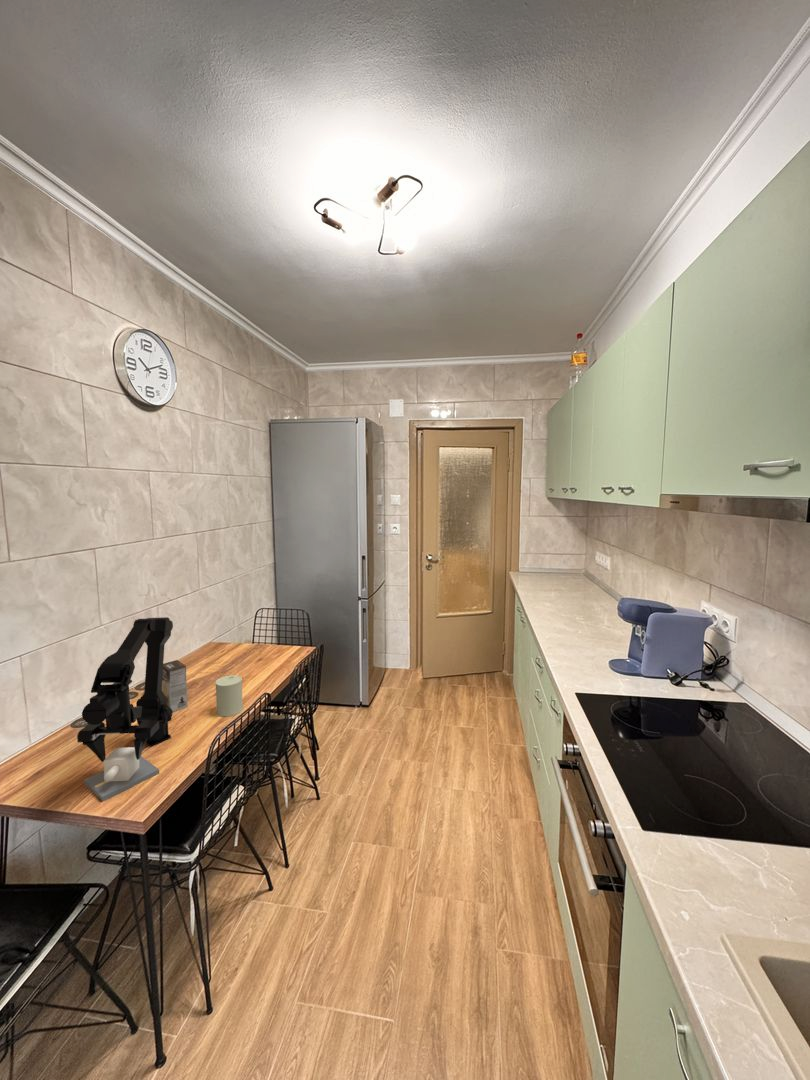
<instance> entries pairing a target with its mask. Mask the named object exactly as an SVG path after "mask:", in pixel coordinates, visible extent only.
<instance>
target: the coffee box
mask: <svg viewBox="0 0 810 1080" xmlns="http://www.w3.org/2000/svg"><path fill="white" fill-rule="evenodd" d="M187 679H188V678H187V666H186V665H185V664H184V663H182V662H181V661H180V660H178V659H176V660H173V661H167V662H165V663H164V662H163V676H162V692H163V693H164V695H165V696H166V698H167V705H168V706H169V707H170V708H171V709H172V713H173V712H177V711H180V710H182V708H183V709H185V707H186V708H188V681H187Z"/></svg>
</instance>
